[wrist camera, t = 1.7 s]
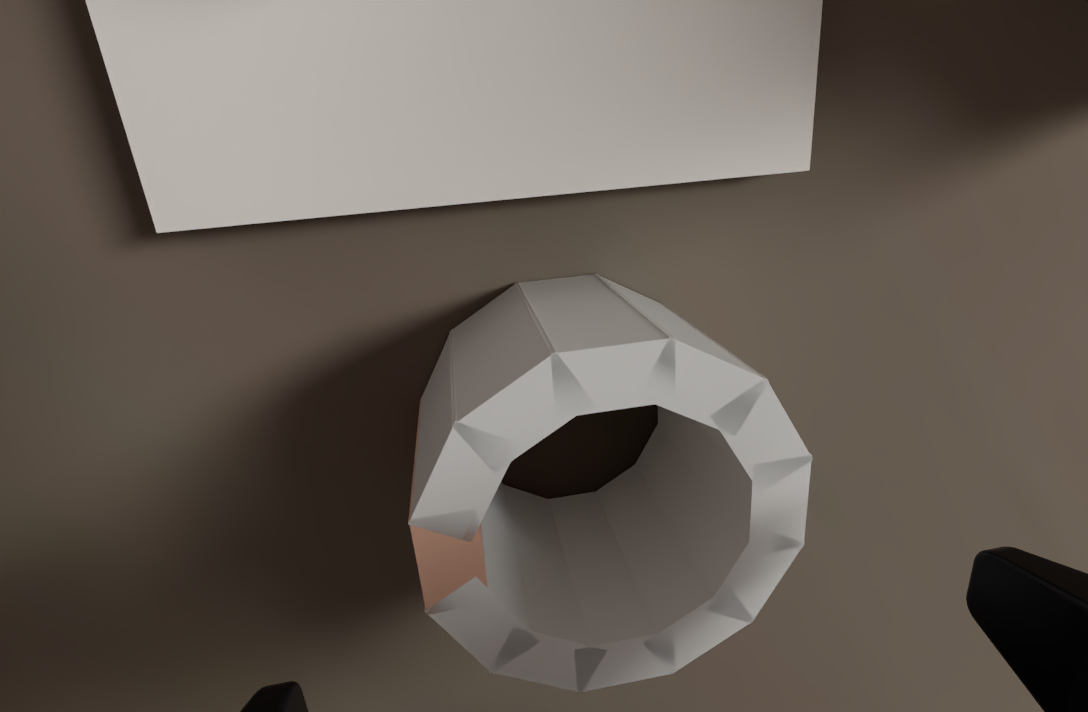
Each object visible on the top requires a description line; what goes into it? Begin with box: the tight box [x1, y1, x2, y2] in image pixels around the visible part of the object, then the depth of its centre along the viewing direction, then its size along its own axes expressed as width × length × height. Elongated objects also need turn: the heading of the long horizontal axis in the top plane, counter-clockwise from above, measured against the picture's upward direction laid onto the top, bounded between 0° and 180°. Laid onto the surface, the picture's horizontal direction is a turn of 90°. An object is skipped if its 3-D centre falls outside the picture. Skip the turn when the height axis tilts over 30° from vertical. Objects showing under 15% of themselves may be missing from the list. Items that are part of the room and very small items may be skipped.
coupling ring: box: [408, 273, 812, 693], centre depth 11 cm, size 6×6×4 cm
